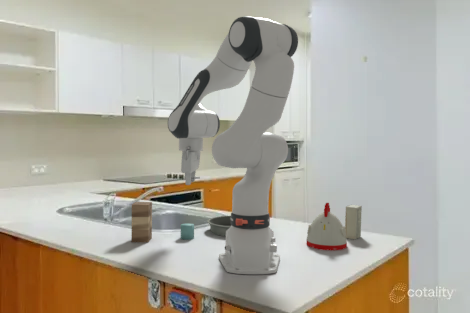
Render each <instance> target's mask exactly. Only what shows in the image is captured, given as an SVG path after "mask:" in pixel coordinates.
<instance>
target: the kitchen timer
mask: <svg viewBox="0 0 470 313" xmlns="http://www.w3.org/2000/svg"><path fill="white" fill-rule="evenodd" d="M347 244H348V240H347V238H346V230H345V225H344V226H343V224H342V222H341V219H339V218H338V217H337V215H335V214H334V213H332V212H331V208H330V203H329V202H325V204H324V209H323V212H321V213H320V214H318V215H317V216H315V218H314V219H313V220H312V222H311V224H309V225H308V228H307V236H306V246H308V247H310V248H312V249H314V250H315V249H316V250H323V251H341V250H344V249H347V247H348V246H347Z"/></svg>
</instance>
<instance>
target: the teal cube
mask: <svg viewBox="0 0 470 313" xmlns="http://www.w3.org/2000/svg"><path fill="white" fill-rule="evenodd" d="M180 239H181V240H184V241H187V240H188V241H189V240H193V239H195V224H194V223H182V224H180Z"/></svg>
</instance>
